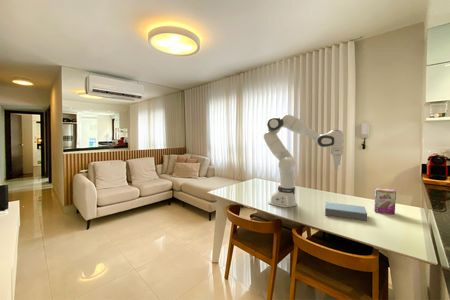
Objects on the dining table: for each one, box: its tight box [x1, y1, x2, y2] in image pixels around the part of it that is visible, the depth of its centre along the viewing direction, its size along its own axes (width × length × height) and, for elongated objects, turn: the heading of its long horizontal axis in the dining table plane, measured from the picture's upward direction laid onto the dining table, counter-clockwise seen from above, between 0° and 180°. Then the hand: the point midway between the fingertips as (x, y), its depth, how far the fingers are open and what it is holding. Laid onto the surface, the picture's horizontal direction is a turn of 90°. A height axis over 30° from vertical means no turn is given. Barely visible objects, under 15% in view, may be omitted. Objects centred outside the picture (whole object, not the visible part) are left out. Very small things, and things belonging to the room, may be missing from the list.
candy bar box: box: [373, 187, 397, 215], centre depth 141 cm, size 11×5×16 cm, turn 59°
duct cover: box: [324, 201, 368, 216], centre depth 140 cm, size 24×13×1 cm, turn 62°
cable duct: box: [324, 208, 368, 223], centre depth 139 cm, size 24×12×4 cm, turn 62°
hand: (336, 169), depth 153 cm, fingers closed
